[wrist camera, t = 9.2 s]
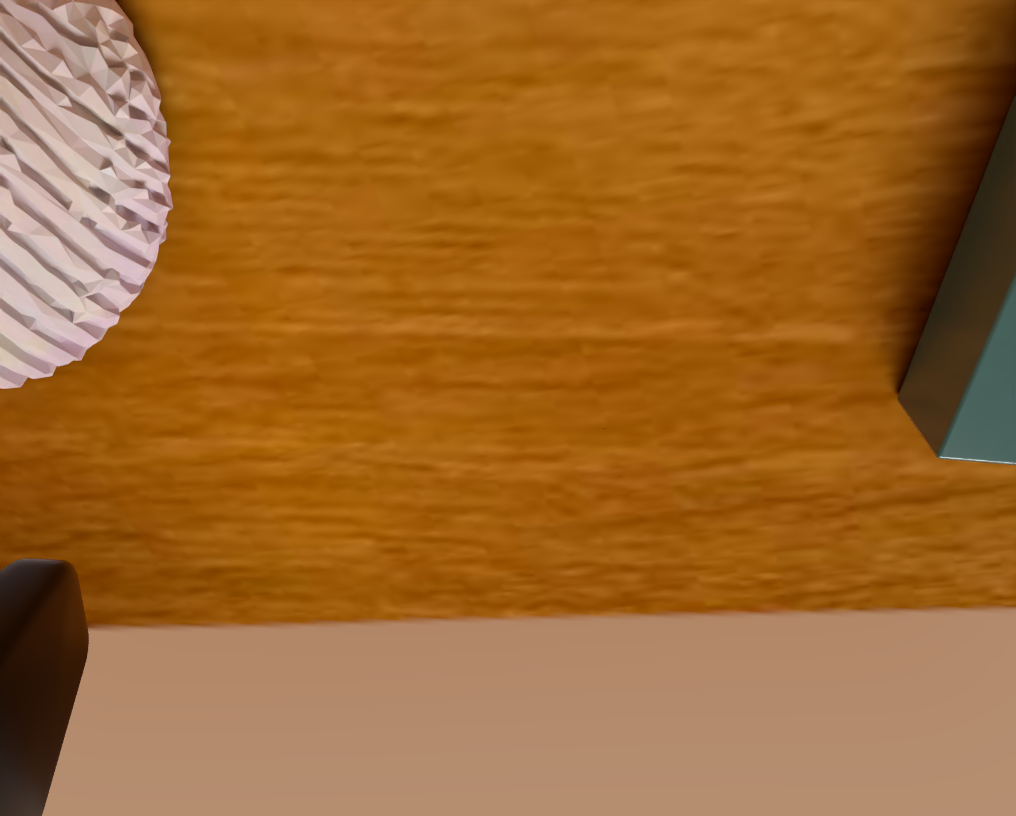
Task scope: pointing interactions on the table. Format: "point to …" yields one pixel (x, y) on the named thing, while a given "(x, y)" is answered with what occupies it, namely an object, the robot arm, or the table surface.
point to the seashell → (74, 179)
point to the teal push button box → (973, 329)
